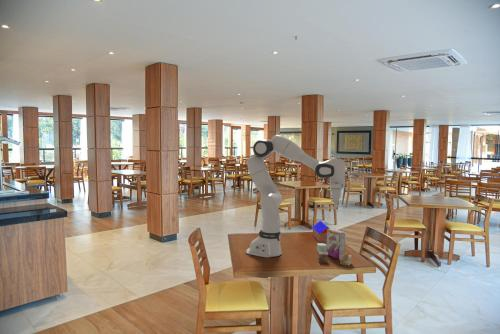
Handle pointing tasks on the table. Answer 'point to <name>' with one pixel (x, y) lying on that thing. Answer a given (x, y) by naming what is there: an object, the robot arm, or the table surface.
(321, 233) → the house
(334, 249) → the candy bar box
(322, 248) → the sage cube
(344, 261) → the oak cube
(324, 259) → the walnut cube
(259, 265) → the table surface
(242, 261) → the table surface
